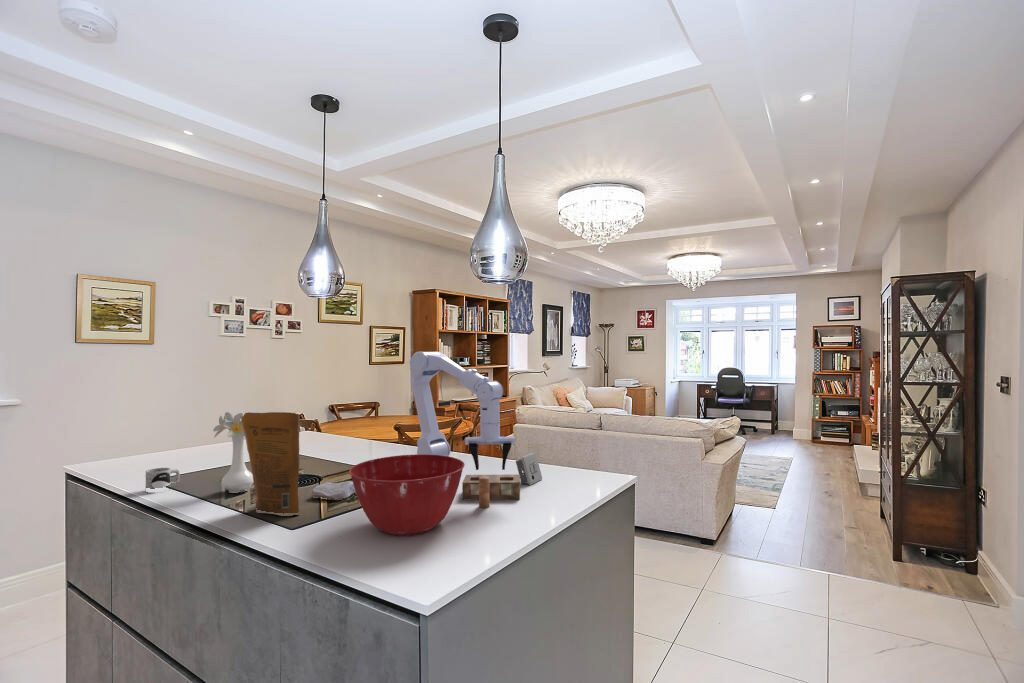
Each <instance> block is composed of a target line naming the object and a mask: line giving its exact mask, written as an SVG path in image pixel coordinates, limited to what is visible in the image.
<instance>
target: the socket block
mask: <svg viewBox="0 0 1024 683" xmlns="http://www.w3.org/2000/svg"><path fill="white" fill-rule="evenodd" d="M480 477H489V494H490V500H520V499H521V480H520V475H519V474H465V477H464V479H463V480H462V486H461V487H462V489H461V490H462V491H461V492H462V493H461V494H462V500H463V499H479V478H480Z"/></svg>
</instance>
